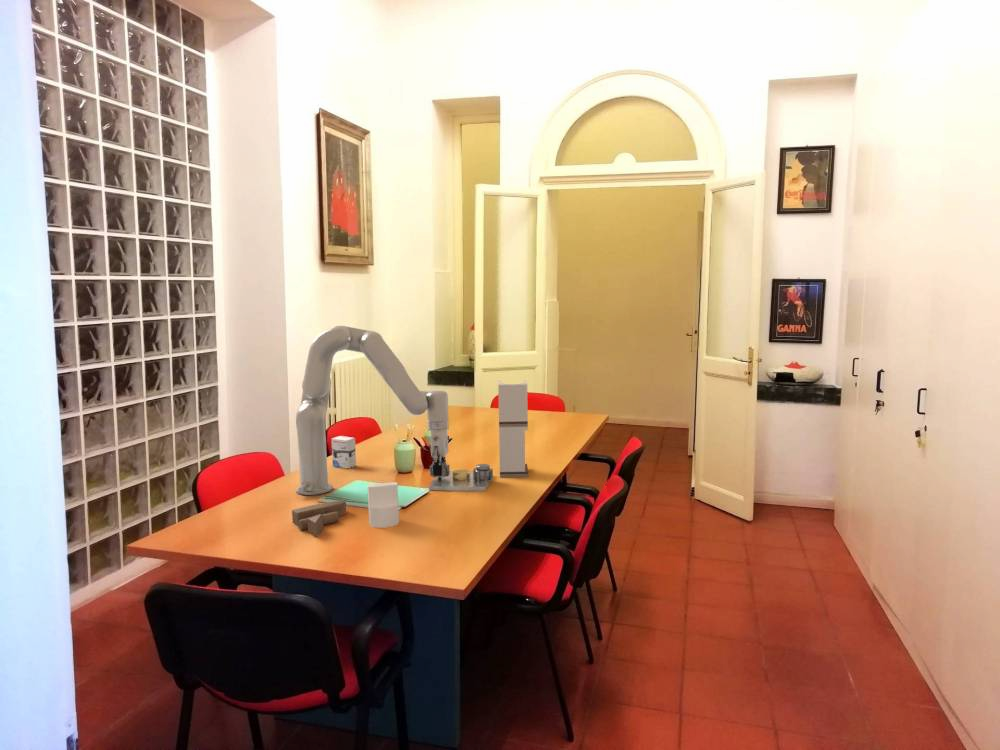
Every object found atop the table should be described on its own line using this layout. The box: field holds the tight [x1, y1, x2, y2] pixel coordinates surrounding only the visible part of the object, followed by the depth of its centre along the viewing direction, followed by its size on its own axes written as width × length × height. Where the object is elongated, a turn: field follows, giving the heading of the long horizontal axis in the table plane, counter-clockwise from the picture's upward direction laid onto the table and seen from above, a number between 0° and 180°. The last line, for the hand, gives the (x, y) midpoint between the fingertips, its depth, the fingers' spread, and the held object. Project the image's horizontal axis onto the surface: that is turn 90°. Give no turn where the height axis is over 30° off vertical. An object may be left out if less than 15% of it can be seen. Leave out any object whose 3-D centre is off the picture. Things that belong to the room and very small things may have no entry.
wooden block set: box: [291, 499, 347, 538], centre depth 212 cm, size 17×6×18 cm
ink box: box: [331, 435, 357, 469], centre depth 279 cm, size 8×5×12 cm, turn 62°
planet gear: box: [429, 460, 451, 479], centre depth 254 cm, size 7×7×5 cm
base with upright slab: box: [367, 481, 400, 529], centre depth 212 cm, size 9×9×12 cm
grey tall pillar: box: [497, 379, 529, 478], centre depth 264 cm, size 11×11×35 cm
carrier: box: [428, 463, 494, 492], centre depth 254 cm, size 20×22×6 cm
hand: (439, 472), depth 254 cm, fingers closed on planet gear, 7 cm apart
